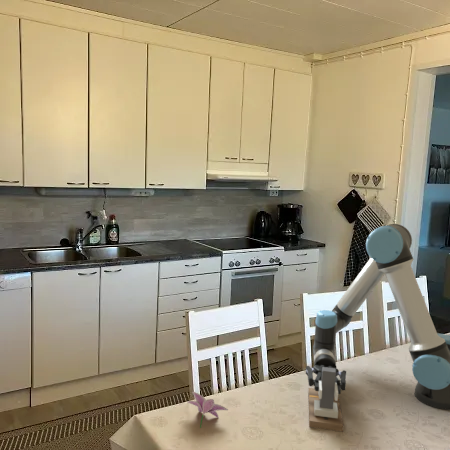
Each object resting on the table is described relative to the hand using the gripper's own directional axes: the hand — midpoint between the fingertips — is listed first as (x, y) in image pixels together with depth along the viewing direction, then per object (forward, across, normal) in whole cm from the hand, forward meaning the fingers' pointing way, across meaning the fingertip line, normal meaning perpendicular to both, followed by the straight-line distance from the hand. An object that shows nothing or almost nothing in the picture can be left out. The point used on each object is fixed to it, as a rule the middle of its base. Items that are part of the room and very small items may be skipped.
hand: (328, 395), depth 140 cm
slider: (-5, 0, -8) cm, 10 cm away
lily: (+5, +36, -11) cm, 38 cm away
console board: (-10, 0, -10) cm, 15 cm away
